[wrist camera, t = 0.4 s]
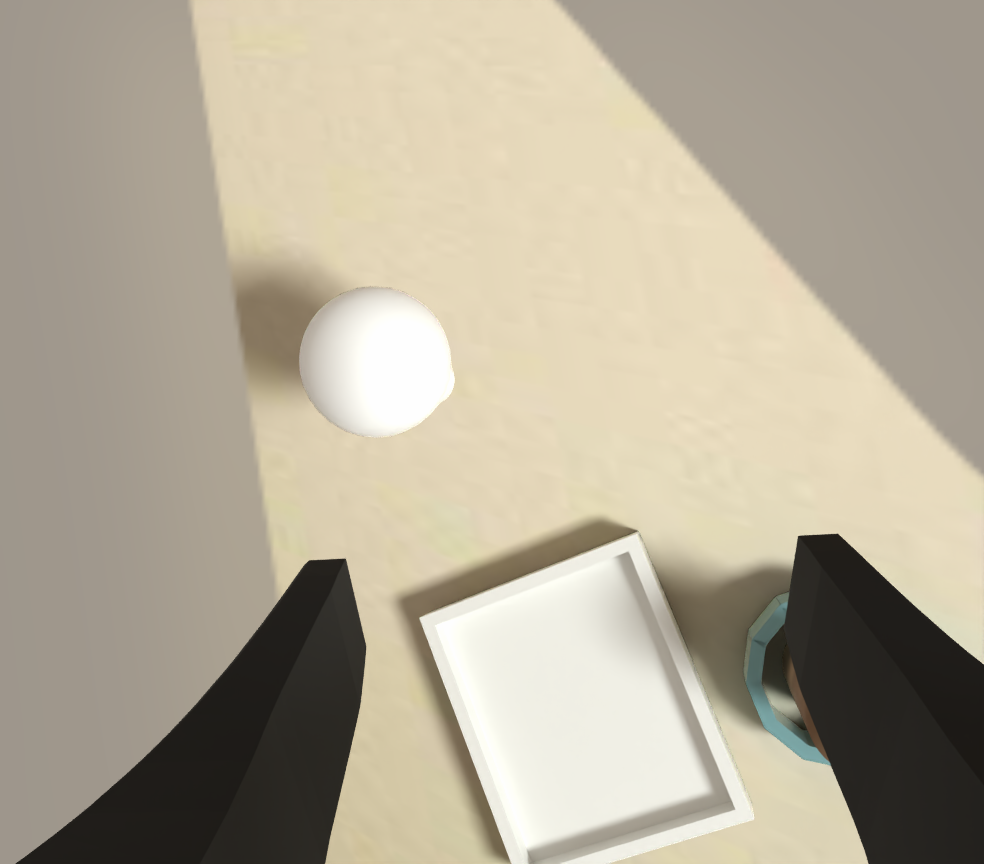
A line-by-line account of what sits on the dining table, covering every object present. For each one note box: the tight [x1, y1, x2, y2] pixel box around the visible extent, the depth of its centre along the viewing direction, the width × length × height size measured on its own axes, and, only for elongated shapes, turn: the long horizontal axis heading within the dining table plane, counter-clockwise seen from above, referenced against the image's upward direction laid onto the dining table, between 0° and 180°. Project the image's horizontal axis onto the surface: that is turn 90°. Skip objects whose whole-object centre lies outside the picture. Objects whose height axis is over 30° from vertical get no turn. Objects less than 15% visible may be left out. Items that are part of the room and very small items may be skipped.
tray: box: [419, 531, 755, 864], centre depth 38 cm, size 13×11×2 cm
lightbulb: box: [299, 286, 455, 438], centre depth 36 cm, size 6×6×11 cm
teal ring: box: [743, 591, 831, 765], centre depth 35 cm, size 7×7×2 cm
